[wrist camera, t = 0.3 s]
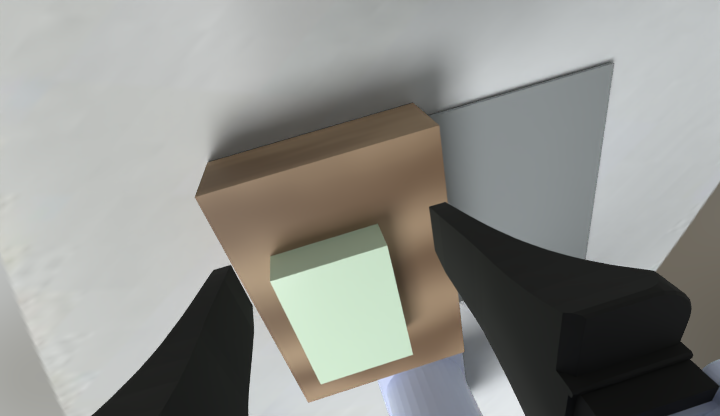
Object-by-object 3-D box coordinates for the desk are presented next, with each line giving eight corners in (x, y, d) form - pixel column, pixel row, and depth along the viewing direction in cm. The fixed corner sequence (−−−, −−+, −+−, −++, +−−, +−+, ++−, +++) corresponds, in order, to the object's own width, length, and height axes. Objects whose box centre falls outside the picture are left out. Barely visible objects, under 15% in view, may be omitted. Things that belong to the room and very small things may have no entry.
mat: (582, 259, 31) (585, 261, 31) (446, 302, 30) (447, 305, 30) (610, 62, 22) (614, 63, 22) (420, 117, 22) (421, 119, 22)
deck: (443, 311, 31) (464, 351, 28) (304, 356, 30) (308, 402, 27) (413, 102, 21) (439, 125, 18) (207, 162, 21) (194, 197, 17)
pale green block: (403, 329, 25) (413, 354, 23) (317, 357, 25) (320, 384, 23) (377, 223, 20) (387, 245, 18) (270, 256, 20) (269, 281, 18)
